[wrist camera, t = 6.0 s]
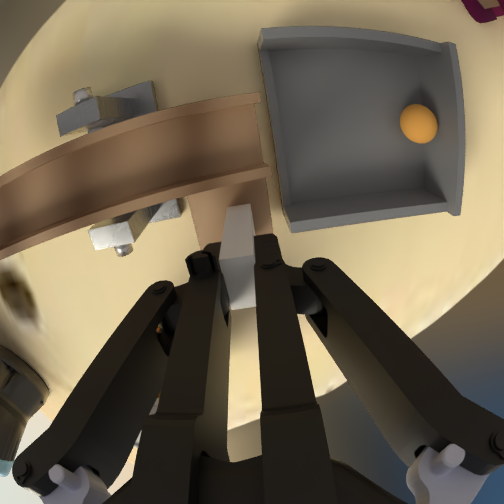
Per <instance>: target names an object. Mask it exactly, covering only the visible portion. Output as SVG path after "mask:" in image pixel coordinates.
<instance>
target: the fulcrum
mask: <svg viewBox="0 0 504 504" xmlns="http://www.w3.org/2000/svg"><path fill="white" fill-rule="evenodd" d="M73 98H74V104H75V106H74V107H72V108H70V109H68V110H66V111H64V112H62V113H60V114H58V115H56V117H57V122H58V127H59V132H60V137H61V136H65V135H69V134H74V133H78V132H83V131H87V130H88V134H89V133H91V132H94V131H97V130H99V129H102V128H105V127H108V126H111V125H114V124H117V123H120V122H123V121H126V120H129V119H132V118H136V117H139V116H142V115H146V114H149V113H153V112H157V111H158V107H157V102H156V96H155V91H154V85H153V81H147V82H144V83H141V84H138V85H135V86H132V87H129V88H127V89H124V90H121V91H118V92H116V93H113V94H111V95H108V96H106V97H100V96H96V97H94V98H93V96H92V90H91V87H87V88H83V89H80V90H78V91H76V92H74V93H73ZM181 215H182V213H181V209H180V205H179V201H178V198H177V199H174V200H170V201H166V202H163V203H159V204H156V205H152V206H149V207H145V208H142V209H139V210H135V211H132V212H129V213H126V214H122V215H119V216H116V217H113V218H110V219H107V220H104V221H101V222H98V223H96V224H95V225H93V226H92V227H91V228H90V229H89V230H88V232H89V235H90V238H91V240H92V243H93V245H94V248H95V250H99V249H104V248H109V247H114V248H115V251H116V254H117V256H118V257H123V256H126V255H128V254H130V253H131V252H132V251H133V247H132V244H131V243H134V242H135V241H136V240H137V238H138V237H139V235H140V234H141V233H142V231H143V230H144V229H145V227H146V226H147V225H148V223H152V222H156V221H161V220H166V219H171V218H177V217H181Z"/></svg>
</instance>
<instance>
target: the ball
mask: <svg viewBox="0 0 504 504" xmlns="http://www.w3.org/2000/svg"><path fill="white" fill-rule="evenodd" d="M400 126H401V129H402V131H403V133H404V135H405V136H406V137H407V138H408V139H410V140H411V141H413V142H415V143H421V144H422V143H427V142H429V141H431V140H432V139H433V138H434V137H435V135H436V133H437V129H438V124H437V120H436V117H435V115H434V114H433V113H432V111H431V110H430V109H428V108H427V107H425V106H423V105H420V104H412V105H409V106H407V107H406V108H405V109H404V110H403V111H402V113H401V116H400Z"/></svg>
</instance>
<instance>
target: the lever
mask: <svg viewBox="0 0 504 504" xmlns="http://www.w3.org/2000/svg"><path fill="white" fill-rule="evenodd" d="M260 102H261V99H260V93H259V92H257V93H249V94H241V95H234V96H228V97H222V98H216V99H210V100H205V101H200V102H195V103H190V104H185V105H181V106H177V107H172V108H168V109H164V110H160V111H157V112H153V113H149V114H146V115H142V116H139V117H136V118H132V119H129V120H126V121H123V122H120V123H117V124H114V125H111V126H108V127H105V128H102V129H99V130H97V131H94V132H91V133H89V134H86V135H84V136H81V137H79V138H76V139H74V140H71V141H69V142H67V143H64V144H62V145H60V146H58V147H55V148H53V149H51V150H49V151H47V152H45V153H43V154H41V155H39V156H37V157H35V158H33V159H31V160H29V161H27V162H25V163H23V164H21V165H19V166H17V167H16V168H14V169H12V170H10V171H8V172H7V173H5V174H3V175H2V176H0V260H1V259H4V258H6V257H8V256H11V255H13V254H15V253H18V252H20V251H22V250H25V249H27V248H30V247H32V246H35V245H37V244H40V243H42V242H45V241H48V240H50V239H53V238H55V237H58V236H61V235H63V234H66V233H69V232H72V231H75V230H77V229H80V228H83V227H86V226H89V225H92V224H95V223H98V222H101V221H104V220H107V219H110V218H113V217H116V216H119V215H122V214H126V213H129V212H132V211H135V210H139V209H142V208H145V207H149V206H152V205H156V204H159V203H163V202H166V201H170V200H174V199H177V198H181V197H185V196H187V197H188V202H189V206H190V210H191V214H192V218H193V222H194V226H195V230H196V233H197V237H198V241H199V245H200V249H201V250H203V248H204V247H205V246H206V245H207V244H209V243H215V242H222V236H223V229H224V223H225V217H226V211H227V207H231V206H238V205H244V204H250V205H251V211H252V217H253V223H254V229H255V235H263V234H269V233H273V228H272V220H271V213H270V206H269V199H268V192H267V185H266V178H265V177H270V176H272V171H271V166H269V165H267V164H264V163H263V158H262V151H261V145H260V138H259V132H258V126H257V119H256V113H255V107H254V104H256V103H260Z"/></svg>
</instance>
